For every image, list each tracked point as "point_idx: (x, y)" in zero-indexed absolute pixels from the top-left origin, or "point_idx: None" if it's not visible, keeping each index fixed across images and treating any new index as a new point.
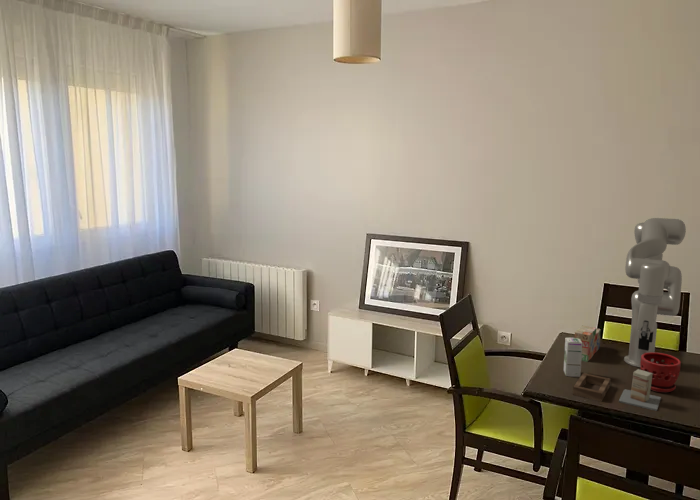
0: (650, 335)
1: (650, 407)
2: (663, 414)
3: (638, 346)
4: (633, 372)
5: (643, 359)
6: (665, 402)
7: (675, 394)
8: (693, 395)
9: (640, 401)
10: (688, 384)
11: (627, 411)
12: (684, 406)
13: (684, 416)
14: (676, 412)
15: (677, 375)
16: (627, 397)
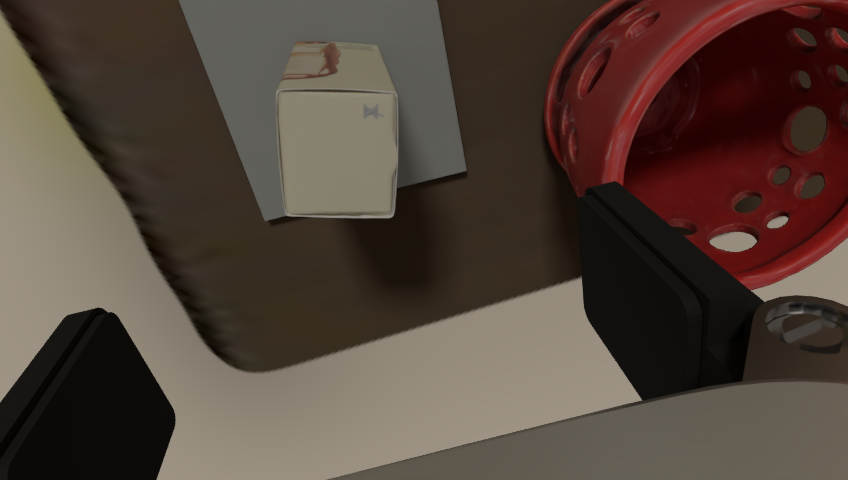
0: (638, 374)
1: (257, 188)
2: (253, 253)
3: (52, 337)
4: (278, 89)
5: (674, 42)
6: (429, 203)
7: None
8: None
9: None
10: None
11: (91, 104)
12: (450, 280)
13: (322, 320)
14: (339, 283)
15: None
16: (288, 23)
